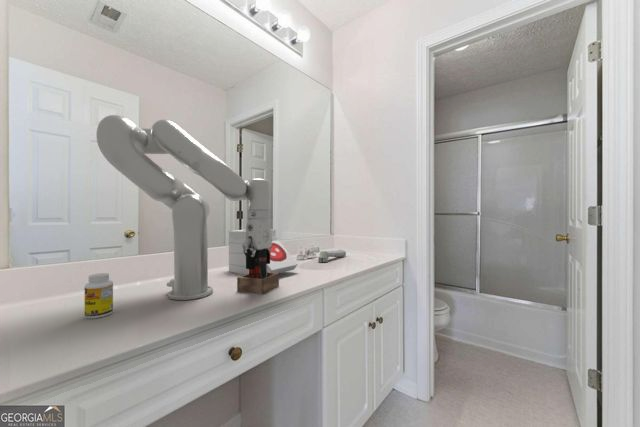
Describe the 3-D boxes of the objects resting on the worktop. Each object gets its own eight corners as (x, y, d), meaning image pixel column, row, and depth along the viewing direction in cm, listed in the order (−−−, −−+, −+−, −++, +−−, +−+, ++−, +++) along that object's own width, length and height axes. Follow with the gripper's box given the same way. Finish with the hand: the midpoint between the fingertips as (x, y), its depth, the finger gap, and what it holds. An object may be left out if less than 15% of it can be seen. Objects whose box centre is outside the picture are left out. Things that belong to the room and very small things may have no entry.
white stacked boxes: (267, 281, 101) (267, 233, 101) (222, 271, 120) (222, 230, 120) (301, 272, 116) (301, 230, 116) (256, 264, 135) (256, 228, 135)
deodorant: (248, 285, 93) (247, 241, 93) (265, 283, 95) (264, 240, 95) (250, 289, 87) (249, 243, 87) (268, 287, 90) (267, 241, 90)
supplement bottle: (79, 317, 66) (79, 276, 66) (104, 310, 72) (104, 271, 72) (93, 320, 64) (93, 278, 64) (118, 312, 69) (117, 273, 70)
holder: (237, 291, 88) (237, 277, 88) (253, 283, 98) (253, 271, 98) (264, 294, 85) (264, 279, 85) (278, 285, 94) (278, 273, 94)
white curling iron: (347, 250, 158) (324, 249, 138) (346, 261, 158) (324, 262, 137) (339, 249, 161) (316, 248, 140) (338, 260, 160) (315, 261, 140)
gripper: (254, 215, 82) (254, 272, 82) (279, 215, 98) (280, 262, 98) (233, 215, 84) (233, 270, 84) (261, 215, 101) (262, 261, 101)
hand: (258, 266), depth 91 cm, fingers open, 9 cm apart
